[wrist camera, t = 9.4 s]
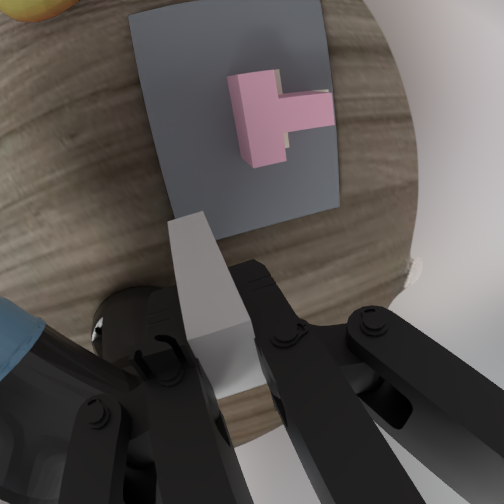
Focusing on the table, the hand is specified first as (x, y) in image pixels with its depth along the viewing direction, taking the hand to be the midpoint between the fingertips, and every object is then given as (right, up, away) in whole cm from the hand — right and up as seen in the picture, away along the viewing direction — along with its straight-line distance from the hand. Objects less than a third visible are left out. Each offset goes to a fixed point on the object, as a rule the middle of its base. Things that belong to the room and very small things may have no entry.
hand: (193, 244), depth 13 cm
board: (+2, +13, +14) cm, 19 cm away
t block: (+4, +13, +14) cm, 19 cm away
